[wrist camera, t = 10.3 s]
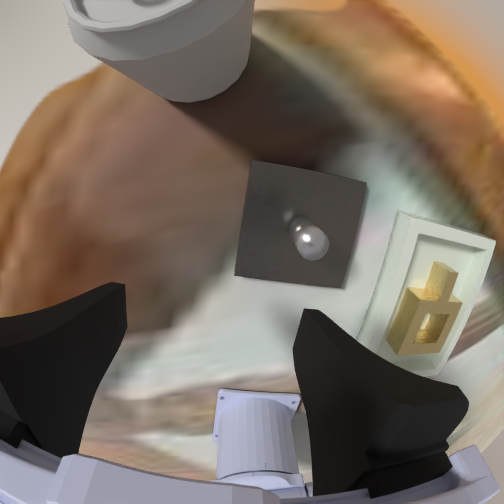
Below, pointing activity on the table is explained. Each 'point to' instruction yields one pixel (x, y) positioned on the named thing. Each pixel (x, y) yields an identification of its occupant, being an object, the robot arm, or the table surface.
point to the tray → (424, 283)
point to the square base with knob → (298, 225)
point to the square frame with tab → (426, 302)
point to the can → (167, 42)
